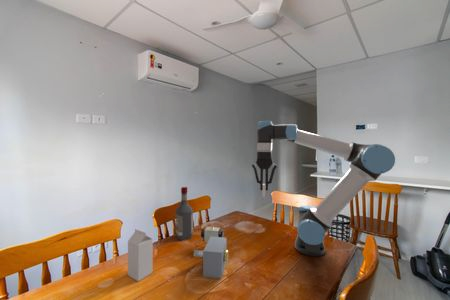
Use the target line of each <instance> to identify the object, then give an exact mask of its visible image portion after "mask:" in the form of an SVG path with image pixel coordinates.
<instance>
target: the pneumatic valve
mask: <svg viewBox="0 0 450 300" xmlns="http://www.w3.org/2000/svg"><path fill="white" fill-rule="evenodd" d="M210 237H224V238H225V232H224V230H222V227H216V226H205V227H204V228H203V229H201V231H200V238H202V241H203V242H205V243H206V242H208V240H209V238H210Z"/></svg>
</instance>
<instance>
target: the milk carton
mask: <svg viewBox="0 0 450 300" xmlns="http://www.w3.org/2000/svg"><path fill="white" fill-rule="evenodd" d="M153 245H154V244H153V238H151V237H150V236H148V233H147V232H145V231H142V230H140V229H136V228H135V229H134V232H133V234H132V235H131V237H130V238H129V239H128V240H127V276H128V277H129V278H132V279H133V280H135V281H136V282H140V281H141V280H143V279H145V278H147V277H149V275H151V274H152V273H153V272H154V271H153V257H154V255H153V248H154V247H153Z"/></svg>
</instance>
